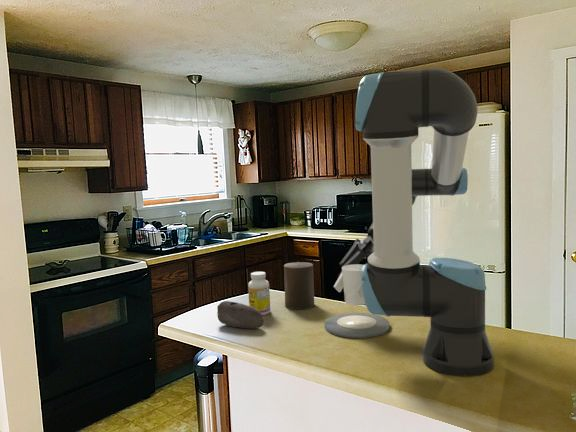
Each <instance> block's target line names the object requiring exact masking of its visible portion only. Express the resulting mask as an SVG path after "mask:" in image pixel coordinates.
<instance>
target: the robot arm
mask: <svg viewBox="0 0 576 432" xmlns="http://www.w3.org/2000/svg"><path fill="white" fill-rule="evenodd" d="M355 103H356V104H355V114H354V115H355V117H354V118H355V119H354V120H355V123H354V125H355V130H356V131H358V132H360V133H361V132H362V134H363V135H362V137H363V138H362V140H364V141H365V143H366V144H367V145H369V147H370V166H371V167H370V168H371V170H370V171H371V172H370V173H371V196H372V198H371V199H372V200H371V201H372V202H371V203H372V204H371V205H372V222H371V225H370V226H369V228H368V230H367V236H366V237H365V238H364V239H361V240H360V238H356V239H355V241H354V242H353V245H352V246H351V247H350V248H349V250H348V251H347V252H346V254H345V255H344V257H343V258H342V260H341V261H340V262H339V265H340V267H341V268H342V267H343V266H346V265H352V264H360V262H362V261H363V260H364V258H367V263H365V264H362V265H363V266H362V270H361V277H362V281H361V283H360V284H359V286H358V288H357V290H356V291H355V293H356V294H357V295H358V296H359V297H360V298H363V296H364V300H365V307H366V308H367V310H368V312H369V313H370V314H374V315H378V316H386V317H418V318H419V317H421V318H423V317H424V318H430V321H429V322H430V327H429V330H428V334H427V336H426V339H425V342H424V346H423V349H422V361H423V363H424V365H426V366H427V368H430V369H432V370H433V371H436V372H438V373H442V374H446V375H449V376H450V375H452V376H458V377H459V376H460V377H474V376H475V377H476V376H481V375H484V374H485V375H486V374H488V373H489V372H491V371H493V369H494V366H495V362H494V360H495V359H494V357H495V356H494V353H493V349H492V347H491V345H490V341H489V338H488V335H487V333H486V290H487V286H486V273H485V271H484V269H483V268H482V267H481V266H480V265H478V264H476V263H474V262H470V261H467V260H463V259H457V258H452V257H433V258H431V259H430V261H429V262H428V265H427V264H421V258H420V256H419V255H418V254H417V253H415V252H414V250H413V249H414V248H413V247H414V246H413V244H414V242H413V239H414V238H413V205H414V204H415V202H416V200H417V197H418V196H422V197H423V196H451V197H452V196H455V195H456V196H457V195H458V196H459V195H465V194H466V193H467V191H468V185H469V180H468V179H469V178H468V177H469V175H468V170H467V169H466V168H465V167H463V166H464V159H465V153H466V151H467V144H468V140H469V139H468V137H469V134H470V131H471V130H472V129H473V128H474V127H475V124H476V122H477V117H478V103H477V99H476V96H475V93H474V92H473V90H472V89H471V88H470V86H469V84H468V83H466V81H465V80H463V79H462V78H461V76H459V75H457V74H455V73H454V72H451V71H450V70H448V69H443V68H435V67H434V68H427V69H415V70H412V69H411V70H401V71H400V70H399V71H397V70H396V71H386V72H385V71H382V72H378V73H370V74H367V75H365V76H363V78H362V79H360V82H359V85H358V89H357V96H356V102H355ZM429 127H432V129H433V146H432V162H431V168H412V144H413V143H414V142H415V141H416V140H417V139H418V138H419V133H420V132H419V128H429ZM333 288H334V289H335V290H336V291H337V292H338V293H341V292H342V290H344V287H343V276H342V270H340V273H339V274H338V276H337V280H336V281H335V283H334V285H333Z"/></svg>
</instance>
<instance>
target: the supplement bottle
mask: <svg viewBox="0 0 576 432" xmlns="http://www.w3.org/2000/svg"><path fill="white" fill-rule="evenodd" d="M266 277H267V274H266V272H265V271H253V272H250V278H251V280H250V281H249V282H248V285H247V286H248V287H247V289H248V306H250V307H252V308H254V309H256V310H258V311H259V312H260V313H261V315H262V316H266V315H268V314H270V312H271V298H270V296H271V295H270V292H271V291H270V283H269V281H268V280H267V279H266Z"/></svg>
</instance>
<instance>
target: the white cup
mask: <svg viewBox="0 0 576 432" xmlns="http://www.w3.org/2000/svg"><path fill="white" fill-rule="evenodd" d="M363 265H364V264H360V263H358V264H352V265H346V266H343V267H341V271H342V276H343V293H344V294H343V295H344V296H343V297H344V303H346V304H347V305H349V306H364V305H365V306H366V304H365V300H364V296H363V298H360V297H359V296H358V295H357V294H356V293H355V291H356V290H357V288H358V286H359V284H360V283H361V281H362V277H361V270H362V266H363Z"/></svg>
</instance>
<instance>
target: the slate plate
mask: <svg viewBox="0 0 576 432" xmlns="http://www.w3.org/2000/svg"><path fill="white" fill-rule="evenodd" d="M324 329H325V330H326V332H327V333H329V334H331V335H334V336H335V337H336V336H337V337H341V338H347V339H368V338H375V337H379V336H382V335H384V334H386V333H387V332H388V331H389V330H390V321H389V320H388V319H387V318H385V317H383V316H382V315H377V314H372V313H367V312H347V313H346V312H344V313H340V314H336V315H332V316H329V317H328V318H327V319H326V320H325V321H324Z"/></svg>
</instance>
